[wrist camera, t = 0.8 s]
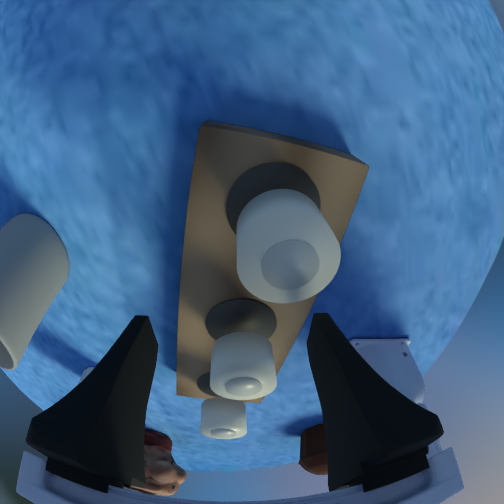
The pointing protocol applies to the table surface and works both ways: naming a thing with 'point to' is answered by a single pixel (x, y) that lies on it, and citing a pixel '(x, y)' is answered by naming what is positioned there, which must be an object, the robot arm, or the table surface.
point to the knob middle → (242, 366)
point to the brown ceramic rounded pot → (160, 466)
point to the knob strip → (225, 238)
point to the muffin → (314, 450)
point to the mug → (27, 281)
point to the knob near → (285, 247)
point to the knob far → (223, 418)
